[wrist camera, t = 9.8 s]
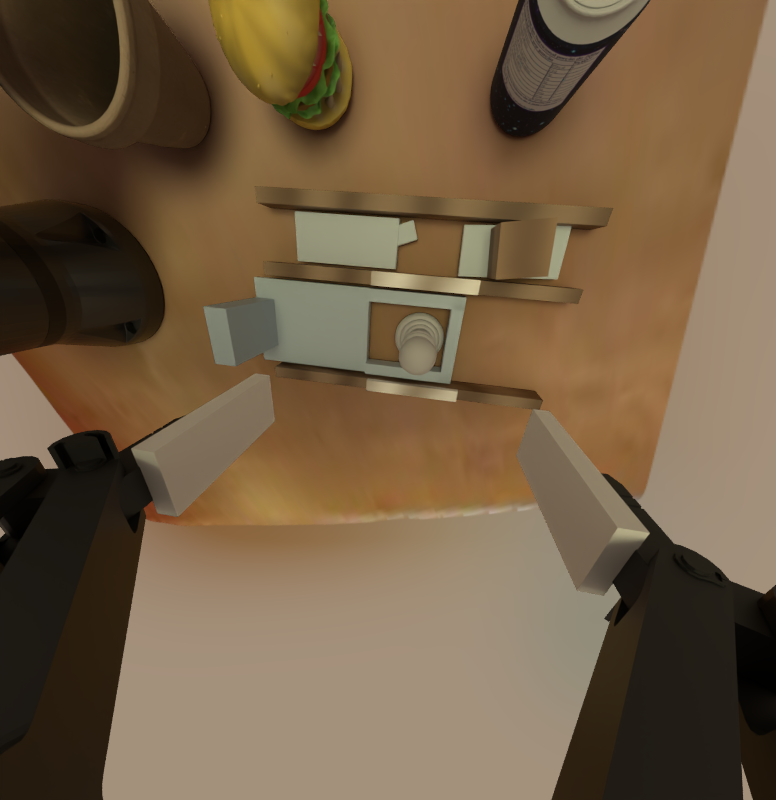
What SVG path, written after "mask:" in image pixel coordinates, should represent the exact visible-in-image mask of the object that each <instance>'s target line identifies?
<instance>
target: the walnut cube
mask: <svg viewBox="0 0 776 800" xmlns="http://www.w3.org/2000/svg"><path fill="white" fill-rule="evenodd" d="M557 221H558V217H554V218H543V219H532V220H521V221H510V222H501V223H499V224H498V225H496V226H495V227H493V228H492V229H491V235H490V247H489V259H488V271H487V278H490V279H495V280H498V279H514V278H531V277H548V274H549V268H550V262H551V256H552V251H553V245H554V239H555V233H556V227H557Z"/></svg>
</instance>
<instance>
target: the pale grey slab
mask: <svg viewBox="0 0 776 800" xmlns="http://www.w3.org/2000/svg"><path fill="white" fill-rule="evenodd" d="M254 282H255V290H256V297H255V298H249V299H243V300H238V301H232V302H226V303H220V304H214V305H209V306H203V308H204V313H205V317H206V322H207V327H208V331H209V336H210V341H211V346H212V350H213V355H214V360H215V364H221V365H229V366H238V365H240V364H241V363H243V362H245V361H247V360H249V359H251V358H253V357H255V356H257V355H259V354H261V353H263V352H264V359H267V360H275V361H283V362H291V363H299V364H307V365H315V366H323V367H332V368H340V369H348V370H356V371H364V372H365V374H373V375H381V376H389V377H397V378H405V379H413V380H421V381H429V382H438V383H446V384H450V382H451V377H452V372H453V366H454V361H455V356H456V351H457V345H458V340H459V335H460V330H461V325H462V319H463V314H464V309H465V304H466V299H467V298H466V297H465V296H460V295H449V294H439V293H428V292H417V291H407V290H396V289H385V288H375V287H364V286H353V285H343V284H332V283H321V282H311V281H300V280H289V279H279V278H268V277H254ZM371 302H381V303H391V304H401V305H412V306H422V307H432V308H442V309H450V314H449V320H448V326H447V331H446V337H445V343H444V349H443V355H442V361H441V367H435V366H433V367H432V369H431V370H430V371H429V372H427V373H426V374H423V375H413V374H410V373H408V372H406V371H405V370H404V369H403V368H402V367H401V365H400V362H393V361H384V360H376V359H369V338H370V316H371Z"/></svg>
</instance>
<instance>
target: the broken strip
mask: <svg viewBox="0 0 776 800" xmlns="http://www.w3.org/2000/svg"><path fill="white" fill-rule="evenodd" d="M295 223H296V239H297V256H298V261H306V262H317V263H329V264H340V265H352V266H363V267H375V268H386V269H397V261H398V248H399V246H402V245H405V244H408V243H411V242H414V241H417V240H418V239H417V234H416V229H415V224H414V220H412V221H409V222H406V223H403V224H401V220H400V219H399V218H385V217H371V216H357V215H342V214H328V213H313V212H299V211H295ZM495 226H496V225H464V226H463V233H462V241H461V249H460V257H459V265H458V273H457V276H465V277H487V271H488V259H489V247H490V235H491V229H492V228H493V227H495ZM571 228H572V226H557V227H556V233H555V239H554V245H553V251H552V256H551V262H550V268H549V274H548V277H531V279H558V276H559V272H560V268H561V265H562V261H563V257H564V253H565V250H566V246H567V242H568V239H569V235H570V231H571Z"/></svg>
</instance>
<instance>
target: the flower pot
mask: <svg viewBox="0 0 776 800" xmlns="http://www.w3.org/2000/svg"><path fill="white" fill-rule="evenodd" d="M0 85H1V87H2V88H3V89H4V90H5V92H6V93H7V94H8V95H9V96H10V97H11V98H12V99H13V100H14V101H15V102H16V103H17V104H18V105H19V106H20V107H21V108H22V109H23V110H24V111H25V112H26V113H28V114H29V115H30V116H31V117H33V118H34V119H35V120H37V121H38V122H40V123H41V124H43V125H44V126H46V127H48V128H49V129H51V130H53V131H55V132H57V133H59V134H61V135H63V136H66V137H69V138H72V139H76V140H78V141H81V142H84V143H87V144H90V145H93V146H96V147H100V148H105V149H120V148H125V147H128V146H130V145H132V144H134V143H136V142H140V143H146V144H152V145H158V146H165V147H174V148H191V147H194V146H196V145H197V144H199V143H200V142H201V141H202V140H203V139H204V137H205V135H206V134H207V131H208V128H209V124H210V115H211V109H210V101H209V96H208V92H207V89H206V86H205V83H204V81H203V79H202V77H201V75H200V73H199V71H198V70H197V68H196V66H195V65H194V63H193V62H192V60H191V59H190V57H189V56H188V54H187V53H186V52H185V50H184V49H183V47H182V46H181V44H180V43H179V42H178V40H177V39H176V37H175V36H174V35H173V33H172V32H171V31H170V29H169V28H168V26H167V25H166V24H165V22H164V21H163V20H162V18H161V17H160V16H159V14H158V13H157V12H156V10H155V9H154V8H153V6H152V5H151V4H150V2H149V1H148V0H0Z"/></svg>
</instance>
